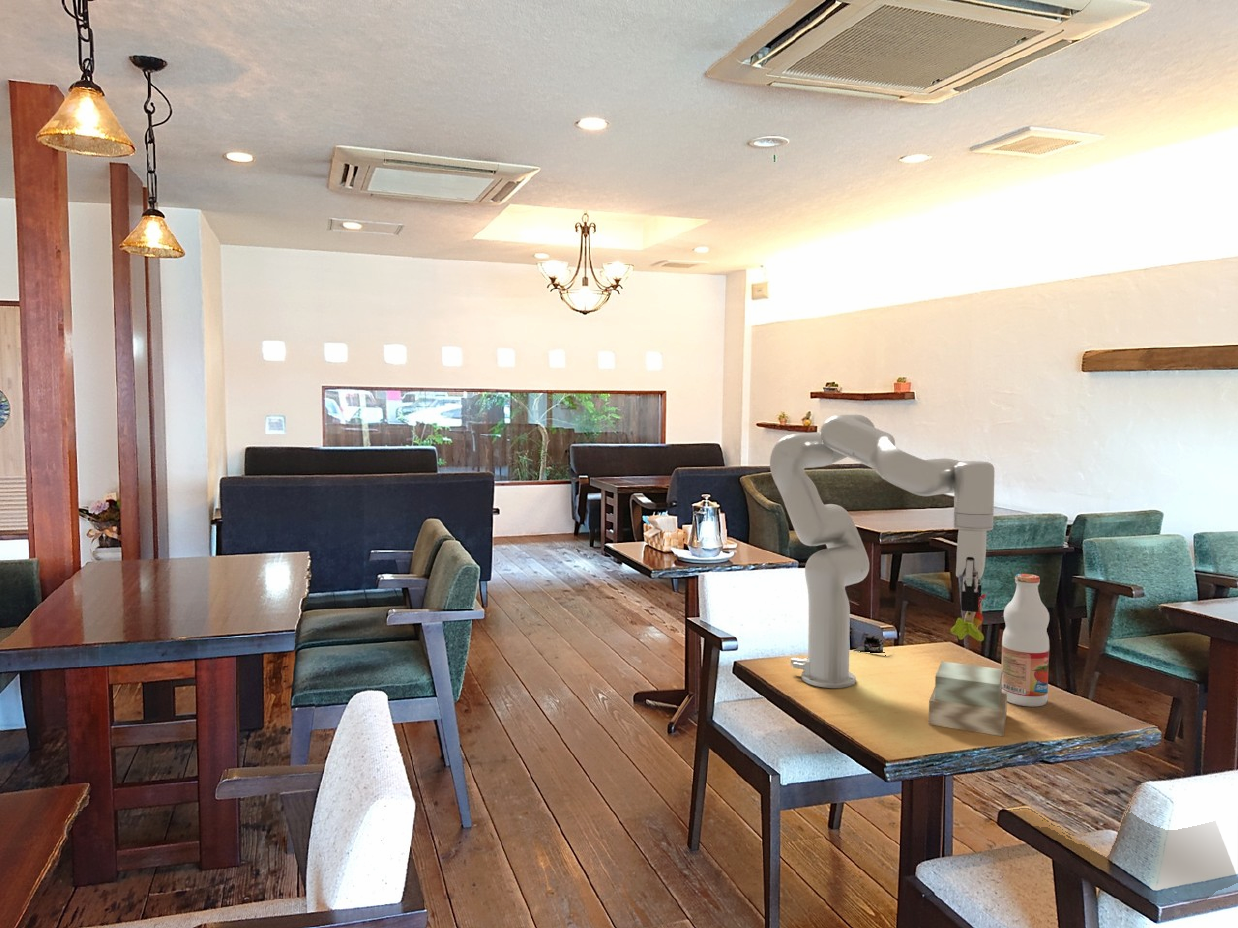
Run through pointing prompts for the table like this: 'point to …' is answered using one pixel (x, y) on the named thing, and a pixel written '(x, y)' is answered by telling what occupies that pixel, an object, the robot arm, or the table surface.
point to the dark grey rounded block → (874, 641)
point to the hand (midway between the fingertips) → (971, 606)
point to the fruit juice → (1025, 645)
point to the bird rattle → (970, 623)
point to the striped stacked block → (968, 699)
